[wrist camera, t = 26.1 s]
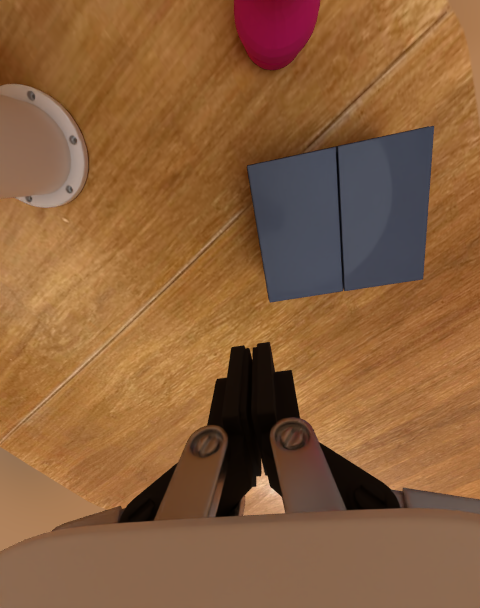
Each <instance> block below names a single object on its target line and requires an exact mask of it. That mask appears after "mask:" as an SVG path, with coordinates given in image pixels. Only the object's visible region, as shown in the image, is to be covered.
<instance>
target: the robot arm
mask: <svg viewBox="0 0 480 608" xmlns="http://www.w3.org/2000/svg"><path fill="white" fill-rule="evenodd" d="M76 139H77V142H76ZM87 174H88V154H87V148H86V145H85V142H84V138H83V136H82V134H81V132H80V130H79V128H78V126H77V124H76V122H75V121H74V119H73V118H72V117H71V115H70V114H69V113H68V112H67V110H66V109H65V108H64V107H63V106H62V105H61V104H60V103H59V102H57V101H56V100H55V99H53V98H52V97H51V96H49V95H47V94H46V93H44V92H42V91H40V90H38V89H35V88H32V87H30V86H25V85H21V84H5V85H2V86H0V199H5V198H14V197H15V198H16V199H18V200H20V201H22V202H24V203H26V204H29V205H32V206H36V207H43V208H49V207H57V206H61V205H64V204H66V203H68V202H71V201H72V200H73V199H74V198H75V197H77V196H78V194H79V193H80V192H81V190H82V189H83V187H84V184H85V182H86V179H87ZM72 189H73V190H72ZM261 459H262V463H263V467H264V472H265V475H266V476H267V475H268V479H269V483H270V487H271V488H273V489H274V490H275V491H276V492H277V493H278V494H279V495H280V496H282V500H283V504H284V509H285V513H284V514H265V515H247V516H243V513H244V508H245V494H246V493H247V492H248V491H249V490H250V489H251V488H252V487H256V476H261ZM0 608H480V500H479V499H473V498H466V497H460V496H453V495H447V494H441V493H434V492H428V491H421V490H415V489H408V488H403V491H397V490H391V489H390V488H389V487H388V486H386V485H385V484H384V483H383V482H381V481H380V480H378V479H376V478H375V477H373V476H372V475H370V474H369V473H367V472H365V471H364V470H362V469H361V468H359V467H358V466H356V465H354V464H353V463H351V462H350V461H348V460H346V459H345V458H343V457H342V456H340V455H339V454H337V453H335V452H334V451H332V450H331V449H329V448H328V447H326V446H324V445H323V444H321V443H320V442H318V439H317V437H316V434H315V432H314V430H313V428H312V426H311V425H310V424H309V423H308V422H306V421H305V420H303V419H300V416H299V410H298V404H297V398H296V393H295V387H294V381H293V375H292V370H288V371H280V372H275V369H274V363H273V358H272V352H271V346H270V342H266V343H259V344H257V347H254V348H253V359H252V357H251V353H250V349H249V348H246V349H245V346H236V347H232V348H231V354H230V361H229V368H228V374H227V378H221V379H217V380H216V384H215V389H214V394H213V399H212V404H211V409H210V414H209V419H208V424H207V426H204V427H202V428H200V429H198V430H196V431H195V432H194V433H193V434H192V435H191V436H190V437H189V439H188V441H187V443H186V445H185V448H184V450H183V452H182V455H181V457H180V459H179V462H178V463H177V464H175V465H174V466H173V467H172V468H171V469H169V470H168V471H167V472H166V473H165V474H163V475H162V476H161V477H160V478H159V479H157V480H156V481H155V482H154V483H152V484H151V485H150V486H149V487H148V488H146V489H145V490H144V491H143V492H142V493H140V494H139V495H138V496H137V497H136V498H134V499H133V500H132V501H131V502H130V503H129V504H128V505H127V507H126V508H124V509H122V508H121V506H118V507H115V508H112V509H109V510H105V511H102V512H99V513H96V514H93V515H89V516H86V517H83V518H80V519H77V520H73V521H70V522H67V523H64V524H62V525H60V526H58V527H56V528H55V529H53V530H52V531H51V532H48V533H44V534H41V535H38V536H35V537H32V538H29V539H26V540H24V541H21V542H19V543H17V544H15V545H13V546H10V547H8V548H6V549H4V550H2V551H0Z"/></svg>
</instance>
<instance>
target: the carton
mask: <svg viewBox="0 0 480 608" xmlns="http://www.w3.org/2000/svg"><path fill="white" fill-rule="evenodd" d="M433 134H434V126H431V127H424V128H419V129H415V130H410V131H405V132H401V133H396V134H391V135H387V136H382V137H377V138H373V139H368V140H363V141H359V142H354V143H350V144H345V145H340V146H336V164H337V184H338V204H339V224H340V244H341V265H342V285H343V288H344V291H349V290H355V289H362V288H369V287H375V286H382V285H388V284H395V283H402V282H408V281H415V280H421V279H423V272H424V258H425V245H426V231H427V217H428V203H429V189H430V175H431V162H432V148H433ZM331 148H333V147H331ZM326 149H328V148H326ZM322 150H324V149H322ZM317 151H319V150H317ZM312 152H314V151H312ZM308 153H310V152H308ZM303 154H305V153H303ZM298 155H300V154H298ZM294 156H296V155H294ZM289 157H291V156H289ZM285 158H287V157H285ZM280 159H282V158H280ZM275 160H277V159H275ZM271 161H273V160H271ZM266 162H268V161H266ZM261 163H263V162H261ZM257 164H259V163H257ZM252 165H254V164H252ZM247 166H249V165H247ZM247 171H248V167H247ZM248 177H249V173H248ZM249 183H250V180H249ZM250 189H251V186H250ZM251 195H252V192H251ZM252 201H253V198H252ZM253 207H254V204H253ZM254 213H255V210H254ZM255 220H256V216H255ZM256 226H257V222H256ZM257 232H258V228H257ZM258 238H259V234H258ZM259 244H260V240H259ZM260 250H261V246H260ZM261 256H262V252H261ZM262 262H263V259H262ZM263 268H264V265H263ZM264 274H265V271H264ZM265 280H266V277H265ZM266 286H267V283H266ZM267 292H268V289H267ZM268 298H269V295H268Z"/></svg>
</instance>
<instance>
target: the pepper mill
mask: <svg viewBox="0 0 480 608" xmlns="http://www.w3.org/2000/svg"><path fill="white" fill-rule="evenodd" d="M319 7H320V0H234V18H235V25H236V29H237V32H238V35H239V38H240V40H241V42H242V44H243V45H244V47H245V50H246V52H247V54H248V56H249V57H250V59H251V60H252V61H253V62H254V63H255V64H256V65H258V66H259V67H261V68H263V69H267V70H277V69H280V68H283V67H285V66H287V65H288V64H289V63H290V62H292V61H293V60H294V58H295V57H296V56H297V54H298V53H299V51H300V50H301V49H302V48H303V47H304V46H305V44H306V43H307V42H308V40H309V38H310V36H311V34H312V33H313V30H314V27H315V24H316V21H317V16H318V11H319Z"/></svg>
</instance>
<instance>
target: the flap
mask: <svg viewBox="0 0 480 608" xmlns="http://www.w3.org/2000/svg"><path fill="white" fill-rule="evenodd" d="M247 167H248V173H249V180H250V186H251V192H252V198H253V204H254V210H255V216H256V222H257V228H258V234H259V240H260V246H261V252H262V259H263V265H264V271H265V277H266V283H267V289H268V295H269V301H270V302H276V301H282V300H289V299H295V298H302V297H308V296H315V295H321V294H327V293H334V292H340V291H343V285H342V265H341V244H340V224H339V204H338V184H337V164H336V147H333V148H328V149H324V150H319V151H314V152H310V153H305V154H300V155H296V156H291V157H287V158H282V159H277V160H273V161H268V162H263V163H259V164H254V165H249V166H247Z"/></svg>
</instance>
